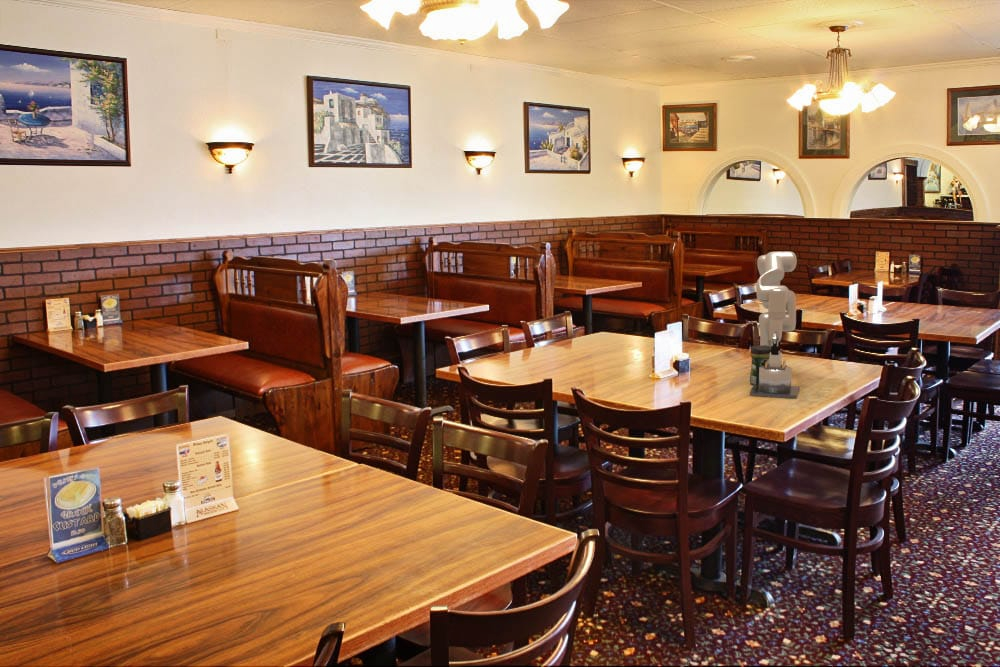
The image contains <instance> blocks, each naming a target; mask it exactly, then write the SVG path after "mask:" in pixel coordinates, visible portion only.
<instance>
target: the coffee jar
mask: <svg viewBox="0 0 1000 667" xmlns="http://www.w3.org/2000/svg"><path fill="white" fill-rule="evenodd" d="M770 352H771V347H770V346H766V345H763V346H760V345H755V346H753V345H752V346H751V347H750V355H749V356H750V357H751V369H750V376H749V383H750V384H751V385H753V386H754V384H759V367H760V366H764V365H765V363H766V361H767V360H769V356H770Z"/></svg>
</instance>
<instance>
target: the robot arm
mask: <svg viewBox="0 0 1000 667" xmlns="http://www.w3.org/2000/svg"><path fill="white" fill-rule="evenodd" d="M797 261H798V260H797V255H796V254H795V252H794V251H786V250H785V251H781V250H780V251H770V252H768V253H766V254H764V255H763V254H762V255H760V256H758V258H757V261H756V264H757V270H758V273H759V278H758V279H757V281H756V287H755V288H756V291H755V292H756V298H757V300H758V301H759V302H760V303H761V302H762V308H764V309H767V310H768V311H765V312H762V313H760V315H759V316H758V325H759V326H758V327H759V338H760V339H759V342H760V343H759V346H763V345H766V346H770V347H771V355H778V354H779V352H781V343H782V342H781V340H782V337H783V332H793V331H794V330H795V329H796V326H797V325H796V324H797V297H796V294H795V292H794V291H793V290H790V289H789V288H788V287H787V286H786V285H781V281H782V280H783V279H784V277H785V273H789V272H790V273H791V272H793V271H794V270H795V269H796V266H797V264H798V263H797Z"/></svg>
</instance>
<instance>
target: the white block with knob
mask: <svg viewBox="0 0 1000 667" xmlns="http://www.w3.org/2000/svg"><path fill="white" fill-rule="evenodd" d="M782 364H783V352H781V351H780V352H779V354H778V355H771V352H770V356H769V367H781V366H782Z"/></svg>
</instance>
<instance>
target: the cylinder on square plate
mask: <svg viewBox="0 0 1000 667" xmlns="http://www.w3.org/2000/svg"><path fill="white" fill-rule="evenodd" d="M786 361H787V360H782V366H781V367H769V360H767V361H766V363H765V365H764V366H760V367H759V384H754V385H753V386H752V388H751V389H750V391H749V397H762V398H774V399H775V398H777V399H794V400H797V399H798V394H799V391H800V386H799V385H792V370H793V369H792V367H791V366H788V365H787V364H786Z"/></svg>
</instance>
